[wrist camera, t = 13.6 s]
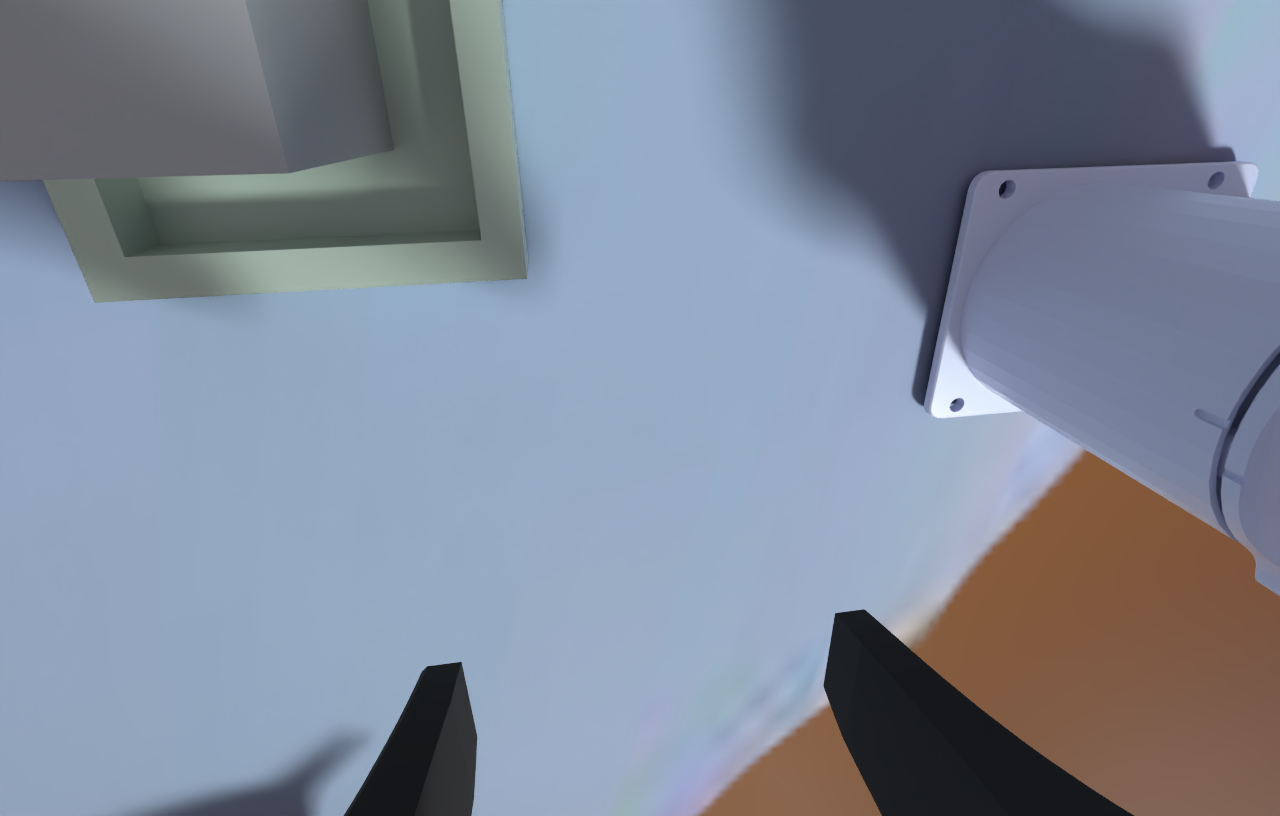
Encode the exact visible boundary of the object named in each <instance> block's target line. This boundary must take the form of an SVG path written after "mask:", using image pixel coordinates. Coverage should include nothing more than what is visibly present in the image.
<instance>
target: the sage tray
mask: <svg viewBox="0 0 1280 816" xmlns="http://www.w3.org/2000/svg"><path fill="white" fill-rule="evenodd" d="M368 5H369V11H370V17H371V22H372V28H373V34H374V39H375V45H376V50H377V56H378V62H379V67H380V73H381V79H382V84H383V90H384V95H385V101H386V107H387V112H388V118H389V124H390V129H391V135H392V140H393V146H394V150H391V151H387V152H383V153H378V154H374V155H369V156H365V157H360V158H356V159H351V160H347V161H342V162H338V163H333V164H329V165H324V166H320V167H315V168H311V169H306V170H302V171H297V172H293V173H287V174H249V175H211V176H173V177H135V178H97V179H60V180H42V181H43V183H44V185H45V188H46V190H47V192H48V195H49V197H50V199H51V202H52V204H53V206H54V209H55V211H56V213H57V216H58V218H59V220H60V223H61V225H62V227H63V230H64V232H65V234H66V237H67V239H68V241H69V244H70V246H71V248H72V251H73V253H74V255H75V258H76V260H77V262H78V265H79V267H80V269H81V272H82V274H83V276H84V279H85V281H86V283H87V286H88V288H89V290H90V293H91V295H92V297H93V300H94V302H95V303H96V302H114V301H132V300H150V299H168V298H186V297H204V296H222V295H240V294H258V293H276V292H294V291H312V290H330V289H348V288H366V287H384V286H402V285H420V284H439V283H457V282H475V281H493V280H511V279H527V274H528V263H529V261H528V251H527V241H526V231H525V222H524V212H523V202H522V192H521V182H520V172H519V162H518V153H517V143H516V133H515V123H514V113H513V103H512V93H511V83H510V74H509V64H508V54H507V44H506V34H505V24H504V14H503V5H502V0H368Z"/></svg>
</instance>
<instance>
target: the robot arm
mask: <svg viewBox="0 0 1280 816" xmlns="http://www.w3.org/2000/svg"><path fill="white" fill-rule="evenodd" d="M1257 177H1258V167H1257V165H1256V164H1255V163H1252V162H1243V161H1234V162H1207V163H1180V164H1153V165H1126V166H1100V167H1073V168H1046V169H1019V170H992V171H984V172H981V173H980V174H978V175H977V176H975V178H974V179H973V180H972V182H971V183H970V186H969V189H968V193H967V198H966V203H965V207H964V212H963V217H962V222H961V227H960V232H959V236H958V241H957V246H956V251H955V256H954V261H953V266H952V270H951V275H950V280H949V285H948V290H947V295H946V300H945V304H944V309H943V314H942V319H941V324H940V329H939V334H938V338H937V343H936V348H935V353H934V358H933V363H932V368H931V372H930V377H929V382H928V387H927V392H926V397H925V402H924V409H925V411H926V412H927V413H928V414H930V415H931V416H932V417H934V418H939V419H941V418H952V417H963V416H974V415H985V414H996V413H1007V412H1018V411H1024V412H1025V413H1027V414H1029V415H1030V416H1032V417H1034V418H1035V419H1037V420H1039V421H1040V422H1042V423H1043V424H1045V425H1047V426H1048V427H1050V428H1052V429H1053V430H1055V431H1057V432H1058V433H1060V434H1061V435H1063V436H1065V437H1066V438H1068V439H1070V440H1071V441H1073V442H1075V443H1076V444H1078V445H1079V446H1081V447H1083V448H1084V449H1086V450H1088V451H1089V452H1091V453H1093V454H1094V455H1096V456H1098V457H1099V458H1101V459H1102V460H1104V461H1106V462H1107V463H1109V464H1111V465H1112V466H1114V467H1115V468H1117V469H1119V470H1120V471H1122V472H1124V473H1125V474H1127V475H1129V476H1130V477H1132V478H1133V479H1135V480H1137V481H1138V482H1140V483H1142V484H1143V485H1145V486H1147V487H1148V488H1150V489H1151V490H1153V491H1155V492H1156V493H1158V494H1160V495H1162V496H1163V497H1165V498H1166V499H1168V500H1169V501H1171V502H1173V503H1175V504H1176V505H1178V506H1180V507H1181V508H1183V509H1184V510H1186V511H1188V512H1189V513H1191V514H1192V515H1194V516H1196V517H1197V518H1199V519H1201V520H1202V521H1204V522H1205V523H1207V524H1209V525H1210V526H1212V527H1214V528H1215V529H1217V530H1219V531H1220V532H1222V533H1224V534H1225V535H1227V536H1228V537H1230V538H1232V539H1234V540H1235V541H1237V542H1240V543H1241V544H1243V545H1244V546H1245V547H1246V548H1247V549H1248V550H1249V551H1250V552H1251V553H1252V554H1253V555H1254V558H1255V560H1256V572H1255V579H1256V581H1258V582H1259V583H1261V584H1262V585H1264V586H1265V587H1267V588H1269V589H1270V590H1272V591H1273V592H1275V593H1276V594H1278V595H1279V596H1280V201H1272V200H1263V199H1255V198H1250V195H1251V193H1252V190H1253V188H1254V185H1255V183H1256V180H1257ZM1210 178H1211V180H1210V182H1209V183H1208V181H1209V179H1210ZM1003 182H1006V189H1005V192H1004V193H1003V194H1002V195H1001V196H1000V195H999V188H1000V186H1001V184H1002V183H1003ZM954 399H957V401H956V403H955V404H954V405H953V406H950V404H951V402H952V401H953V400H954ZM824 688H825V691H826V694H827V697H828V700H829V702H830V705H831V708H832V710H833V713H834V716H835V719H836V721H837V723H838V726H839V729H840V731H841V734H842V737H843V739H844V741H845V743H846V745H847V747H848V749H849V751H850V753H851V755H852V757H853V759H854V761H855V763H856V765H857V767H858V769H859V771H860V773H861V775H862V777H863V779H864V781H865V783H866V785H867V787H868V789H869V791H870V793H871V795H872V797H873V799H874V801H875V803H876V804H877V807H878V809H879V811H880V812H881V814H882V816H1134V815H1132V814H1131V813H1129V812H1127V811H1125V810H1124V809H1122V808H1121V807H1119V806H1117V805H1116V804H1114V803H1113V802H1111V801H1110V800H1108V799H1106V798H1105V797H1103V796H1102V795H1100V794H1099V793H1097V792H1095V791H1094V790H1092V789H1091V788H1089V787H1088V786H1087V785H1085V784H1084V783H1082V782H1081V781H1079V780H1078V779H1076V778H1075V777H1073V776H1072V775H1070V774H1069V773H1067V772H1066V771H1064V770H1063V769H1062V768H1060V767H1059V766H1057V765H1056V764H1054V763H1052V762H1051V761H1050V760H1048V759H1047V758H1045V757H1044V756H1043V755H1041V754H1040V753H1039V752H1037V751H1036V750H1034V749H1033V748H1031V747H1030V746H1029V745H1027V744H1026V743H1025V742H1023V741H1022V740H1021V739H1019V738H1018V737H1017V736H1015V735H1014V734H1013V733H1011V732H1010V731H1009V730H1008V729H1006V728H1005V727H1004V726H1002V725H1001V724H1000V723H998V722H997V721H996V720H994V719H993V718H992V717H990V716H989V715H988V714H987V713H985V712H984V711H983V710H981V709H980V708H979V707H978V706H976V705H975V704H974V703H973V702H972V701H970V700H969V699H968V698H967V697H965V696H964V695H963V694H962V693H961V692H960V691H958V690H957V689H956V688H955V687H953V686H952V685H951V684H950V683H949V682H947V681H946V680H945V679H944V678H942V677H941V676H940V675H939V674H938V673H937V672H936V671H934V670H933V669H932V668H931V667H930V666H929V665H927V664H926V663H925V662H924V661H923V660H922V659H921V658H919V657H918V656H917V655H916V654H915V653H914V652H912V651H911V650H910V649H909V648H908V647H907V646H906V645H904V644H903V643H902V642H901V641H900V640H899V639H898V638H897V637H895V636H894V635H893V634H892V633H891V632H890V631H889V630H887V629H886V628H885V627H884V626H883V625H882V624H881V623H879V622H878V621H877V620H876V619H875V618H874V617H873V616H871V615H870V614H869V613H868V612H867V611H866V610H857V611H849V612H841V613H835V618H834V624H833V631H832V637H831V643H830V649H829V655H828V662H827V668H826V674H825V680H824ZM476 749H477V733H476V729H475V724H474V719H473V715H472V710H471V705H470V700H469V696H468V691H467V686H466V681H465V677H464V672H463V667H462V662H458V663H450V664H442V665H435V666H427V667H426V668H425V669H424V670H423V671H422V673H421V675H420V677H419V679H418V681H417V684H416V686H415V688H414V690H413V692H412V694H411V696H410V698H409V700H408V702H407V704H406V706H405V708H404V710H403V712H402V714H401V716H400V718H399V720H398V722H397V724H396V726H395V728H394V730H393V731H392V733H391V735H390V737H389V739H388V741H387V743H386V745H385V746H384V748H383V750H382V752H381V753H380V755H379V757H378V759H377V760H376V762H375V764H374V766H373V767H372V769H371V771H370V773H369V775H368V776H367V778H366V780H365V782H364V783H363V785H362V787H361V789H360V790H359V792H358V794H357V795H356V797H355V799H354V800H353V802H352V803H351V805H350V807H349V808H348V810H347V811H346V813H345V815H344V816H471V814H472V807H473V800H474V787H475V770H476Z"/></svg>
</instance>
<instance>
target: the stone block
mask: <svg viewBox="0 0 1280 816" xmlns="http://www.w3.org/2000/svg"><path fill="white" fill-rule="evenodd" d="M391 150H394V146H393V140H392V135H391V129H390V124H389V118H388V112H387V107H386V101H385V95H384V90H383V84H382V79H381V73H380V67H379V62H378V56H377V50H376V45H375V39H374V34H373V28H372V22H371V17H370V11H369V5H368V0H0V181H22V180H60V179H97V178H135V177H173V176H211V175H249V174H287V173H293V172H297V171H302V170H306V169H311V168H315V167H320V166H324V165H329V164H333V163H338V162H342V161H347V160H351V159H356V158H360V157H365V156H369V155H374V154H378V153H383V152H387V151H391Z"/></svg>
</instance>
